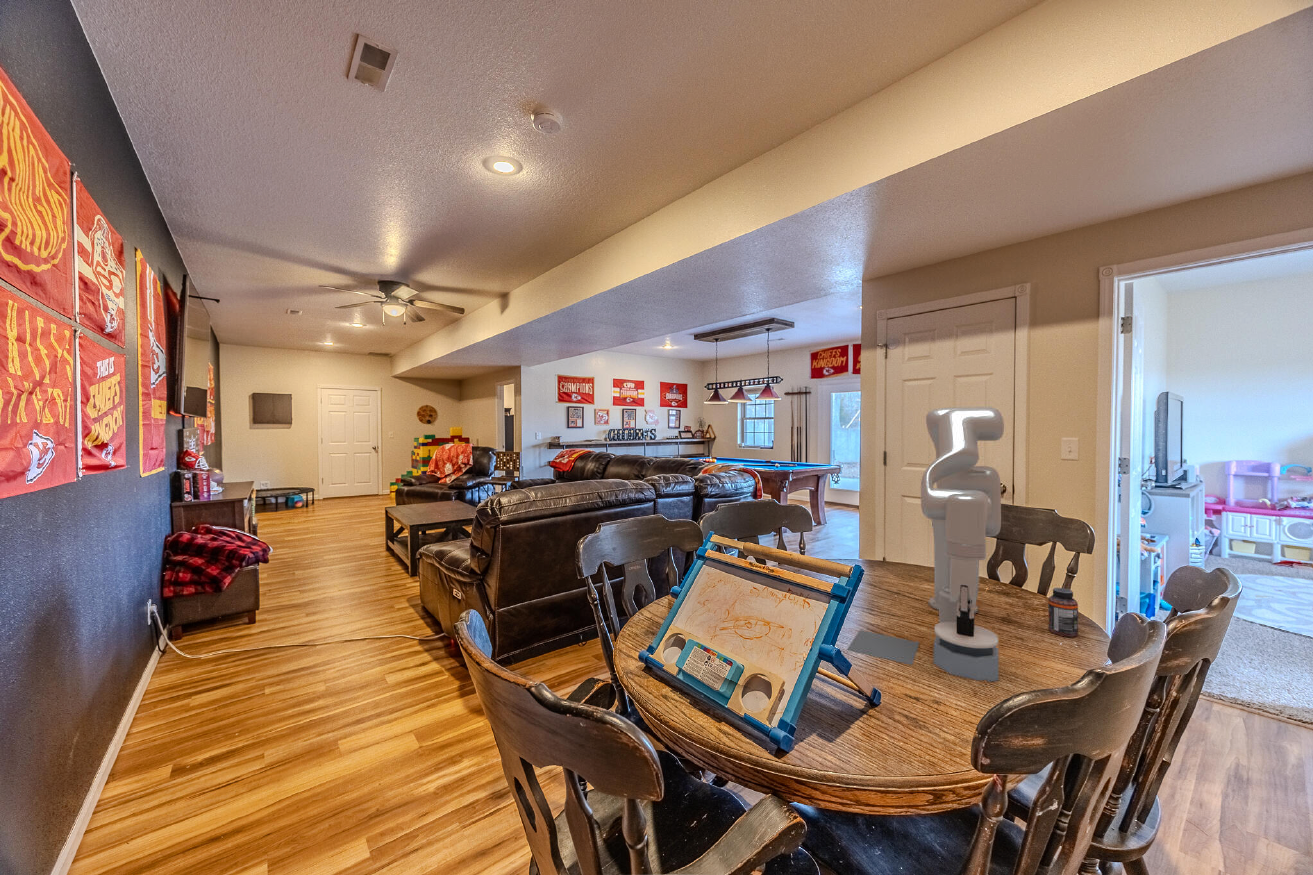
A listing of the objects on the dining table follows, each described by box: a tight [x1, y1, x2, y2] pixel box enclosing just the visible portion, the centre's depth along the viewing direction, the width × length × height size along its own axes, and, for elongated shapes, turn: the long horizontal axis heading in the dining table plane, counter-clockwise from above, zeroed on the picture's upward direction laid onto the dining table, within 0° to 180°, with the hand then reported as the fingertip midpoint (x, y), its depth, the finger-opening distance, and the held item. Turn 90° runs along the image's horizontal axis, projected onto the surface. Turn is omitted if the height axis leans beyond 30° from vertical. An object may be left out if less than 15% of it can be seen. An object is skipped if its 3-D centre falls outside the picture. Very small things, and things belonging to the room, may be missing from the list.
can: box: [938, 586, 958, 623], centre depth 128 cm, size 8×8×12 cm
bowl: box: [933, 635, 1000, 683], centre depth 110 cm, size 12×12×5 cm
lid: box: [934, 604, 999, 648], centre depth 110 cm, size 12×12×7 cm
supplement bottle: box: [1047, 587, 1079, 638], centre depth 128 cm, size 6×6×11 cm
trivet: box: [846, 629, 921, 666], centre depth 120 cm, size 14×14×1 cm
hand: (965, 631), depth 110 cm, fingers closed on lid, 3 cm apart
